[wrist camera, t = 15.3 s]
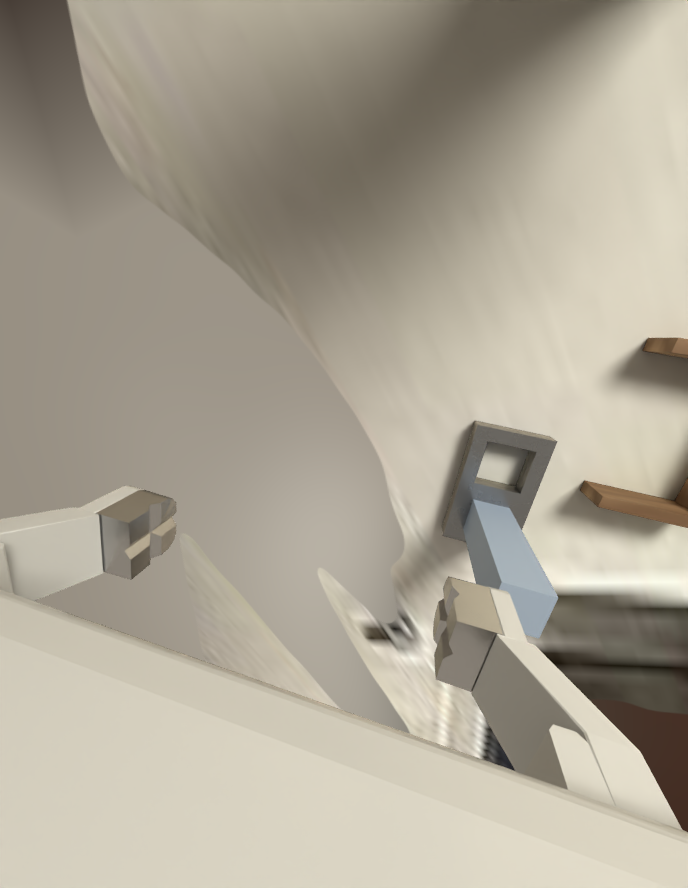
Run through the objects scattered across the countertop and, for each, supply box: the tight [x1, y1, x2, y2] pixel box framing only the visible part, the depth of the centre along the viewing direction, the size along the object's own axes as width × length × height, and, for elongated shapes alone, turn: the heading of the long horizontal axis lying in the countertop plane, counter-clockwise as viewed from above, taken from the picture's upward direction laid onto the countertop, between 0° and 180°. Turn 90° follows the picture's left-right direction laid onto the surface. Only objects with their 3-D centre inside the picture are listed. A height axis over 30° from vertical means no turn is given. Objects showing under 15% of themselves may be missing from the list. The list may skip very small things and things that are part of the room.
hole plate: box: [442, 421, 557, 542], centre depth 38 cm, size 14×8×2 cm, turn 170°
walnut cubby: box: [580, 338, 688, 528], centre depth 32 cm, size 16×10×4 cm, turn 170°
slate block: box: [463, 499, 558, 638], centre depth 32 cm, size 4×4×14 cm
